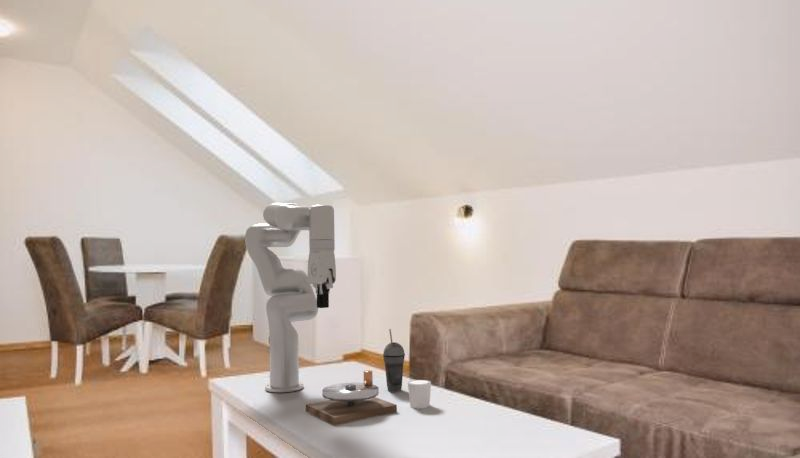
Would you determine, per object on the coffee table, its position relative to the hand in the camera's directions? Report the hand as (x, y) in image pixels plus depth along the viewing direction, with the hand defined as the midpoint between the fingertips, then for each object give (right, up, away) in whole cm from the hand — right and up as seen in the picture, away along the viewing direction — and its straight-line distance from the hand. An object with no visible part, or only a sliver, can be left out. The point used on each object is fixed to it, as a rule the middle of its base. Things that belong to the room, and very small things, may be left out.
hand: (322, 307), depth 172 cm
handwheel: (+9, -24, -8) cm, 26 cm away
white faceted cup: (+29, -29, -3) cm, 41 cm away
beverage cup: (+21, -30, +16) cm, 40 cm away
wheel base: (+9, -29, -8) cm, 31 cm away
